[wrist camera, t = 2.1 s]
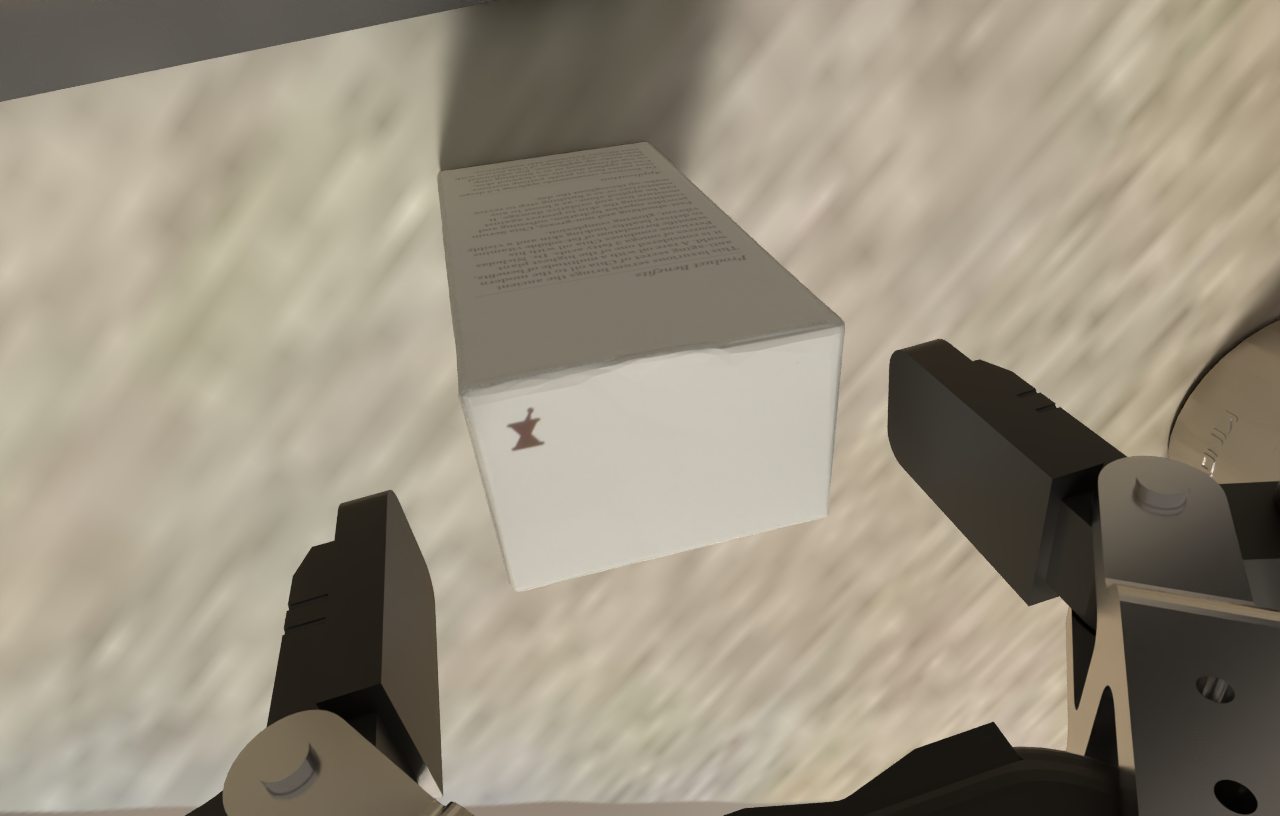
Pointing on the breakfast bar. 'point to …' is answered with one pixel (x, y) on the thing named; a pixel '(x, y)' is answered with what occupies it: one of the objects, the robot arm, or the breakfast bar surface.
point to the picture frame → (166, 33)
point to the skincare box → (630, 364)
